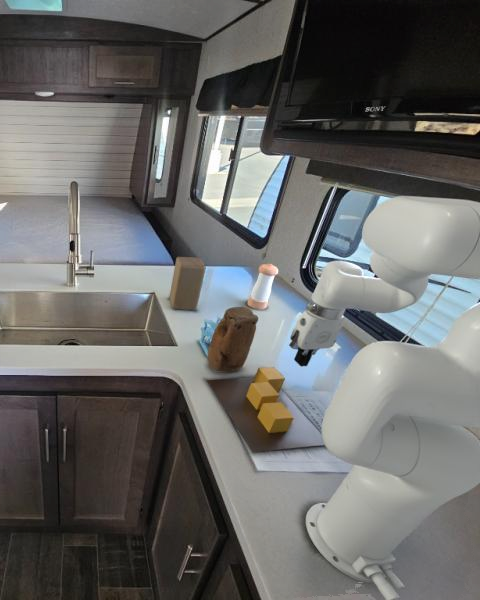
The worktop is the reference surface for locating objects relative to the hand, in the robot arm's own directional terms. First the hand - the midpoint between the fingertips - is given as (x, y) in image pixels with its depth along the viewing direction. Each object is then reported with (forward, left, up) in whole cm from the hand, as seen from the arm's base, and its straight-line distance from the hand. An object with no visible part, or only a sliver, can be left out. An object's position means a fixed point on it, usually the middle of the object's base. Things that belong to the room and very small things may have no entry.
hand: (300, 363), depth 92 cm
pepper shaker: (+46, -18, -8) cm, 50 cm away
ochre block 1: (0, +8, -8) cm, 11 cm away
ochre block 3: (-13, +15, -8) cm, 22 cm away
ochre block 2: (-6, +14, -8) cm, 17 cm away
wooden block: (+49, +14, -8) cm, 51 cm away
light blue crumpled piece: (+19, +16, -8) cm, 26 cm away
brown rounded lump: (+10, +16, -8) cm, 21 cm away
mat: (-8, +15, -8) cm, 19 cm away
